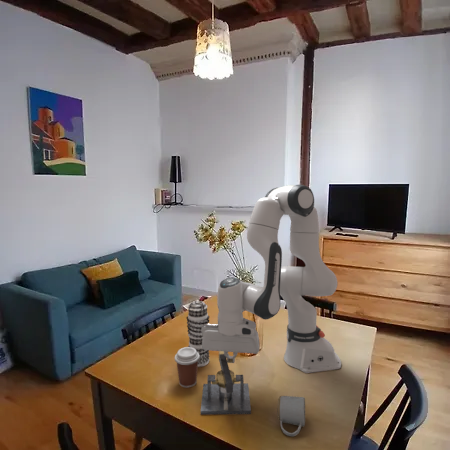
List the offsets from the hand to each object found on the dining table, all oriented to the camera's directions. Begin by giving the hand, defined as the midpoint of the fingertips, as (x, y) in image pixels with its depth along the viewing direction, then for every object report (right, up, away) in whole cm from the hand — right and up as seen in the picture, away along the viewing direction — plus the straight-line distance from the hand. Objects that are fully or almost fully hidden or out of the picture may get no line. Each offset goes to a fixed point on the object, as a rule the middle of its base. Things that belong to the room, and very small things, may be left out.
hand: (230, 362), depth 116 cm
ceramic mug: (+18, -12, -16) cm, 28 cm away
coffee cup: (-16, -10, +5) cm, 19 cm away
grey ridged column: (-13, -8, +19) cm, 24 cm away
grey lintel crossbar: (-2, -4, -6) cm, 8 cm away
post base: (-2, -11, -5) cm, 12 cm away
